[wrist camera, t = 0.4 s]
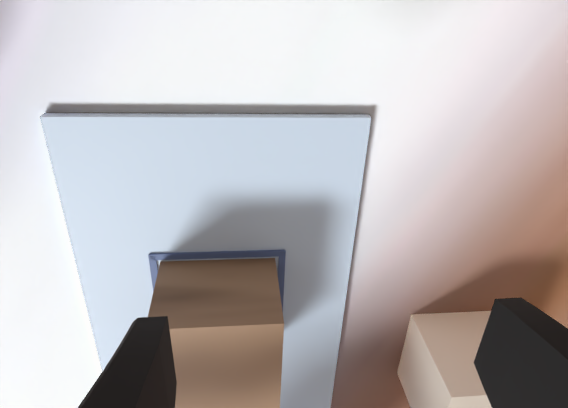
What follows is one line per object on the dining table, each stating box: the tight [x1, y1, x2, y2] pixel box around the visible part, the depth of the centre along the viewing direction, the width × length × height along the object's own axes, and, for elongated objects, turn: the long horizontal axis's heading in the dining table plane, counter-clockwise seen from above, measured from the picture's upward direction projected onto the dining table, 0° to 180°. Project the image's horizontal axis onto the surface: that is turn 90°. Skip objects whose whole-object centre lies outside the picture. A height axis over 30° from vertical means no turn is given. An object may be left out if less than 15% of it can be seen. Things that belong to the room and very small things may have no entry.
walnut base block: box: [148, 258, 284, 408], centre depth 19 cm, size 5×5×4 cm
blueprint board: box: [40, 113, 371, 408], centre depth 21 cm, size 18×12×1 cm, turn 178°
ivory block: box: [397, 311, 492, 408], centre depth 22 cm, size 4×4×5 cm
